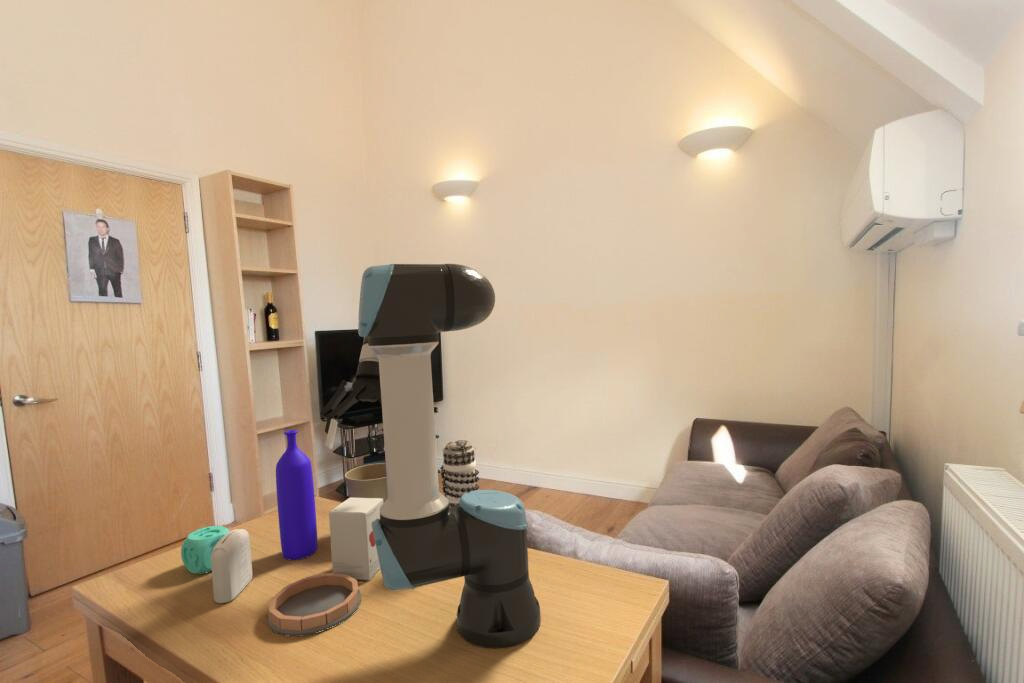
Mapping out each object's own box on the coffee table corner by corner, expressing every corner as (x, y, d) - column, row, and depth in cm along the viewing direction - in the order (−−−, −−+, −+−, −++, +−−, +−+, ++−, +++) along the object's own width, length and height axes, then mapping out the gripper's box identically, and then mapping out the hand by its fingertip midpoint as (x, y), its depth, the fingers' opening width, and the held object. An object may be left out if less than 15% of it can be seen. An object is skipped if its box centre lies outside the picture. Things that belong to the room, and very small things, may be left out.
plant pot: (417, 522, 139) (414, 464, 138) (383, 546, 125) (378, 482, 124) (374, 515, 145) (370, 460, 144) (336, 537, 131) (332, 477, 130)
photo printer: (236, 578, 113) (231, 524, 112) (255, 577, 113) (251, 522, 112) (210, 605, 103) (205, 545, 102) (232, 603, 103) (227, 544, 102)
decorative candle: (440, 540, 127) (434, 441, 125) (474, 532, 130) (469, 436, 129) (451, 556, 118) (445, 450, 117) (488, 546, 122) (482, 444, 121)
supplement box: (370, 581, 109) (365, 513, 108) (331, 579, 110) (327, 511, 110) (388, 560, 117) (384, 497, 117) (353, 559, 119) (348, 496, 118)
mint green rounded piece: (215, 555, 125) (212, 523, 124) (236, 560, 121) (234, 528, 121) (182, 570, 118) (179, 537, 117) (203, 577, 114) (200, 542, 114)
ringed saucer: (378, 602, 100) (377, 588, 100) (294, 648, 87) (293, 633, 87) (332, 576, 111) (331, 564, 111) (252, 614, 99) (251, 600, 98)
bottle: (325, 549, 125) (316, 428, 123) (295, 563, 118) (285, 436, 116) (304, 542, 130) (295, 426, 128) (274, 556, 123) (264, 433, 121)
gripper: (426, 373, 130) (413, 456, 121) (330, 368, 131) (310, 450, 122) (421, 361, 123) (407, 448, 114) (319, 356, 124) (298, 442, 115)
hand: (357, 449), depth 118 cm, fingers open, 13 cm apart
